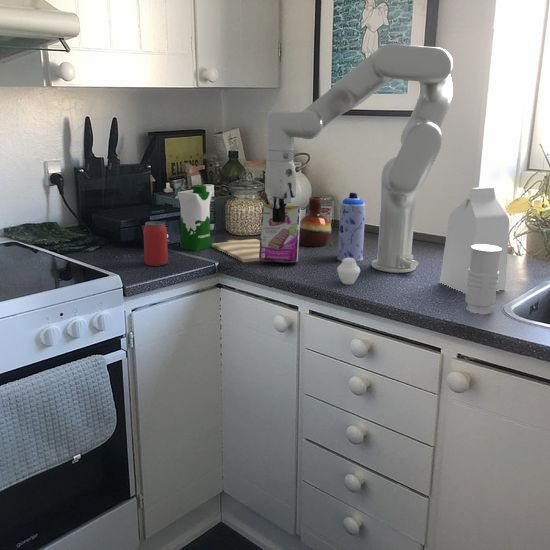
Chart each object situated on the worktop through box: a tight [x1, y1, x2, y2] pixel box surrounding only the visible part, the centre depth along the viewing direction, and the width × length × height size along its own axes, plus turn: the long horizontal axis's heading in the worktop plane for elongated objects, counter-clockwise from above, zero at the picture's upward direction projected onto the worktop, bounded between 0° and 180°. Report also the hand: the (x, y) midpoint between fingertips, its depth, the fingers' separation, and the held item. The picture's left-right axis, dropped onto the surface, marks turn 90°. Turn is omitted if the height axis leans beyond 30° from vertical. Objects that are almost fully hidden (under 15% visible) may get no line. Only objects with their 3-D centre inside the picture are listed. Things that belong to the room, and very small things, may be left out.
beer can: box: [142, 220, 169, 267], centre depth 178 cm, size 7×7×12 cm
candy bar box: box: [259, 204, 302, 264], centre depth 181 cm, size 11×5×16 cm, turn 84°
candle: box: [464, 244, 502, 315], centre depth 143 cm, size 7×7×15 cm
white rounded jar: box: [336, 257, 361, 285], centre depth 163 cm, size 6×6×7 cm
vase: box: [299, 196, 332, 247], centre depth 204 cm, size 11×11×15 cm
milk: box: [439, 186, 510, 295], centre depth 159 cm, size 12×12×26 cm
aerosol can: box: [336, 192, 366, 263], centre depth 186 cm, size 8×8×20 cm
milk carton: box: [177, 184, 213, 252], centre depth 196 cm, size 9×9×20 cm
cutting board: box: [211, 238, 261, 263], centre depth 196 cm, size 24×16×1 cm, turn 31°
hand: (278, 221), depth 177 cm, fingers closed
